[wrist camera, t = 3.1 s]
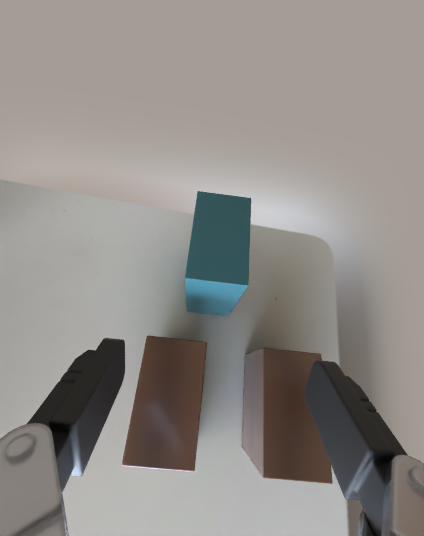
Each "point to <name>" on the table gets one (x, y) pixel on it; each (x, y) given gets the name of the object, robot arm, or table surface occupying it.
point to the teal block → (218, 253)
